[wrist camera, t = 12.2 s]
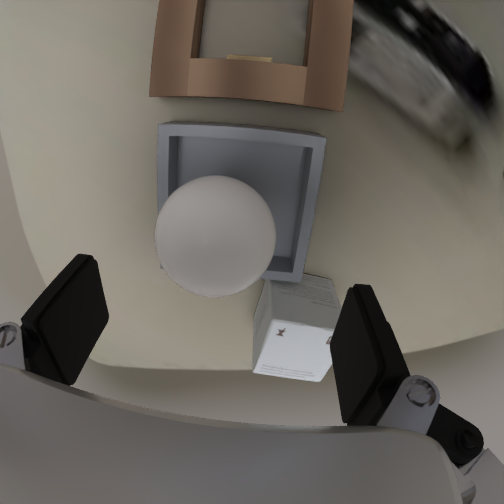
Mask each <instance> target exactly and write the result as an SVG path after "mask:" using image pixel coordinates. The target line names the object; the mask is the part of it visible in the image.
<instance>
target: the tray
mask: <svg viewBox="0 0 504 504" xmlns="http://www.w3.org/2000/svg"><path fill="white" fill-rule="evenodd" d="M326 140H327V138H326V137H324V136H322V135H320V134H317V133H311V132H304V131H297V130H290V129H282V128H273V127H264V126H253V125H242V124H228V123H211V122H183V121H170V122H166V123H162V124H158V154H157V194H158V214H159V212H160V210H161V208H162V206H163V204H164V203H165V201H166V200H167V199H168V197H169V196H170V195H171V194H172V193H173V192H174V191H175V190H176V189H178V188H179V187H180V186H182V185H183V184H185V183H187V182H189V181H191V180H193V179H196V178H199V177H203V176H210V175H221V176H228V177H232V178H235V179H238V180H240V181H242V182H244V183H246V184H248V185H249V186H251V187H252V188H253V189H255V190H256V191H257V192H258V193H259V194H260V195H261V196H262V198H263V199H264V200H265V201H266V203H267V205H268V206H269V208H270V210H271V212H272V215H273V218H274V221H275V226H276V246H275V251H274V255H273V258H272V260H271V262H270V264H269V266H268V268H267V270H266V271H265V272H264V274H263V275H262V276H261V277H260V278H259V279H268V280H279V281H290V282H301V280H302V275H303V270H304V265H305V260H306V255H307V250H308V245H309V240H310V235H311V230H312V224H313V219H314V214H315V208H316V202H317V197H318V191H319V185H320V179H321V173H322V166H323V160H324V153H325V147H326ZM160 265H161V264H160ZM161 268H162V269H163V267H162V266H161Z"/></svg>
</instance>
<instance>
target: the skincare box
mask: <svg viewBox="0 0 504 504" xmlns="http://www.w3.org/2000/svg"><path fill="white" fill-rule="evenodd" d="M340 312H341V306H340V303H339V300H338V297H337V295H336V292H335V289H334V286H333V284H332V281H331V280H330V279H326V278H321V277H317V276H312V275H307V274H303V275H302V280H301V282H290V281H279V280H268V279H266V280H265V283H264V286H263V289H262V293H261V296H260V299H259V302H258V305H257V308H256V311H255V315H254V325H253V366H252V368H253V372H254V373H260V374H266V375H273V376H279V377H286V378H293V379H301V380H308V381H316V382H320V381H321V380H322V378H323V377H324V376H325V374H326V372H327V371H328V369H329V368H330V366H331V364H332V358H331V353H330V341H331V338H332V335H333V332H334V329H335V327H336V324H337V321H338V318H339V315H340Z"/></svg>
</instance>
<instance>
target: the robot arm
mask: <svg viewBox="0 0 504 504" xmlns="http://www.w3.org/2000/svg"><path fill="white" fill-rule="evenodd" d="M108 319H109V313H108V309H107V305H106V300H105V296H104V292H103V287H102V283H101V278H100V273H99V268H98V263H97V261H96V260H94V258H93V256H92V255H86V254H78V255H76V256H75V257H74V258H73V260H72V261H71V262H70V263H69V264H68V265H67V266H66V267H65V268H64V269H63V270H62V271H61V272H60V273H59V275H58V276H57V277H56V278H55V279H54V280H53V281H52V282H51V283H50V285H49V286H48V287H47V288H46V289H45V290H44V291H43V293H42V294H41V295H40V296H39V297H38V298H37V300H36V301H35V302H34V303H33V305H32V306H31V307H30V308H29V309H28V310H27V312H26V313H25V314H24V316H23V317H22V318H21V321H22V326H21V327H20V326H19V325H18V324H16V323H14V322H6V323H3V324H0V504H504V465H503V464H502V463H501V462H500V461H499V460H498V458H497V457H496V456H495V455H494V454H493V453H492V452H491V451H490V450H489V448H487V449H486V450H484V449H483V445H484V441H483V436H482V434H481V432H480V431H479V429H478V428H477V427H476V426H474V425H473V424H471V423H470V422H468V421H466V420H465V419H463V418H462V417H460V416H458V415H457V414H455V413H454V412H452V411H450V410H449V409H447V408H445V407H444V406H442V405H441V404H439V400H440V393H439V390H438V388H437V386H436V385H435V384H434V383H433V382H432V381H431V380H430V379H428V378H426V377H424V376H420V375H413V376H410V373H409V371H408V368H407V365H406V363H405V360H404V358H403V355H402V353H401V350H400V348H399V345H398V343H397V340H396V338H395V335H394V333H393V331H392V328H391V326H390V324H389V322H387V321H386V318H385V316H384V314H383V311H382V309H381V307H380V305H379V302H378V300H377V298H376V296H375V293H374V291H373V289H372V287H371V285H364V284H355V285H354V286H353V288H352V287H350V288H349V289H348V291H347V294H346V297H345V301H344V304H343V306H342V309H341V312H340V315H339V318H338V321H337V324H336V327H335V329H334V332H333V335H332V338H331V341H330V353H331V358H332V363H333V369H334V374H335V380H336V386H337V392H338V398H339V404H340V410H341V416H342V421H343V423H347V426H285V425H266V424H252V423H241V422H231V421H222V420H214V419H207V418H200V417H194V416H187V415H181V414H176V413H171V412H165V411H160V410H155V409H150V408H146V407H142V406H137V405H133V404H129V403H125V402H121V401H117V400H114V399H110V398H106V397H102V396H99V395H95V394H92V393H89V392H86V391H83V390H79V389H76V388H74V387H71V386H70V385H73V384H74V383H75V381H76V380H77V378H78V375H79V374H80V372H81V370H82V368H83V366H84V364H85V362H86V360H87V358H88V357H89V355H90V353H91V351H92V349H93V347H94V346H95V344H96V342H97V340H98V338H99V337H100V335H101V333H102V331H103V330H104V328H105V326H106V324H107V322H108Z"/></svg>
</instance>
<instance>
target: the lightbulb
mask: <svg viewBox="0 0 504 504" xmlns="http://www.w3.org/2000/svg"><path fill="white" fill-rule="evenodd" d="M154 242H155V249H156V253H157V256H158V259H159V261H160V264H161V266H162V267H163V269H164V271H165V272H166V273H167V275H168V276H169V277H170V278H171V279H172V280H173V281H174V282H175V283H176V284H177V285H179V286H180V287H181V288H183V289H185V290H186V291H188V292H190V293H193V294H196V295H199V296H203V297H210V298H220V297H227V296H231V295H235V294H237V293H240V292H242V291H244V290H246V289H247V288H249V287H250V286H252V285H253V284H254V283H255V282H256V281H258V280H259V278H260V277H261V276H262V275H263V274H264V272H265V271H266V270H267V268H268V266H269V264H270V262H271V260H272V258H273V255H274V251H275V246H276V226H275V221H274V218H273V215H272V212H271V210H270V208H269V206H268V205H267V203H266V201H265V200H264V199H263V198H262V196H261V195H260V194H259V193H258V192H257V191H256V190H255V189H253V188H252V187H251V186H249V185H248V184H246V183H244V182H242V181H240V180H238V179H235V178H232V177H228V176H221V175H210V176H203V177H199V178H196V179H193V180H191V181H189V182H187V183H185V184H183V185H182V186H180V187H179V188H178V189H176V190H175V191H174V192H173V193H172V194H171V195H170V196H169V197H168V199H167V200H166V201H165V203H164V204H163V206H162V208H161V210H160V212H159V214H158V217H157V220H156V224H155V231H154Z"/></svg>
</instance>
